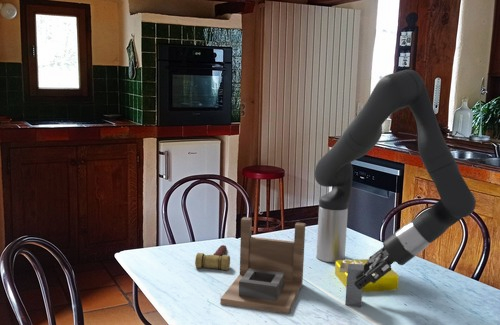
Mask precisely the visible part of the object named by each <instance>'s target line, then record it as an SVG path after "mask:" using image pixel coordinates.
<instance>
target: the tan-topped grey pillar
mask: <svg viewBox="0 0 500 325" xmlns="http://www.w3.org/2000/svg"><path fill="white" fill-rule="evenodd" d="M339 272H343V273H347V285H346V287H345V304H344V305H345V306H348V307H356V308H361V307H362V301H363V292H364V291H363V288H362V289H358V288H357V287H356V286H355V285H354V283H355V281H356V280H358V279H359V278H360V277H362V276H363V275H364V265H358V264H349V263H341V265H340V271H339Z"/></svg>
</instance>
